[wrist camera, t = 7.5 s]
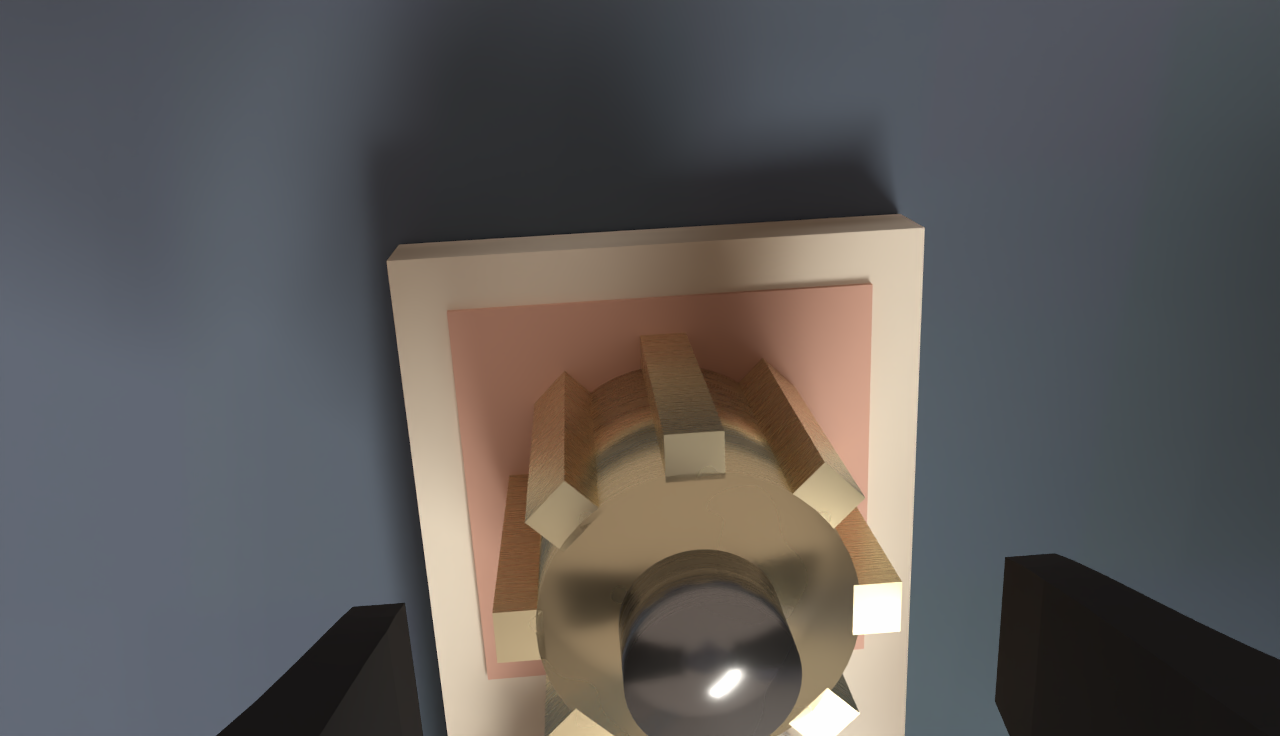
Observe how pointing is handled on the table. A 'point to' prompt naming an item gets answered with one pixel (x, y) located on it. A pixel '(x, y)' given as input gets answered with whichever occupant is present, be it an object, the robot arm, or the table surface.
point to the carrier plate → (610, 346)
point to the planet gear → (688, 556)
